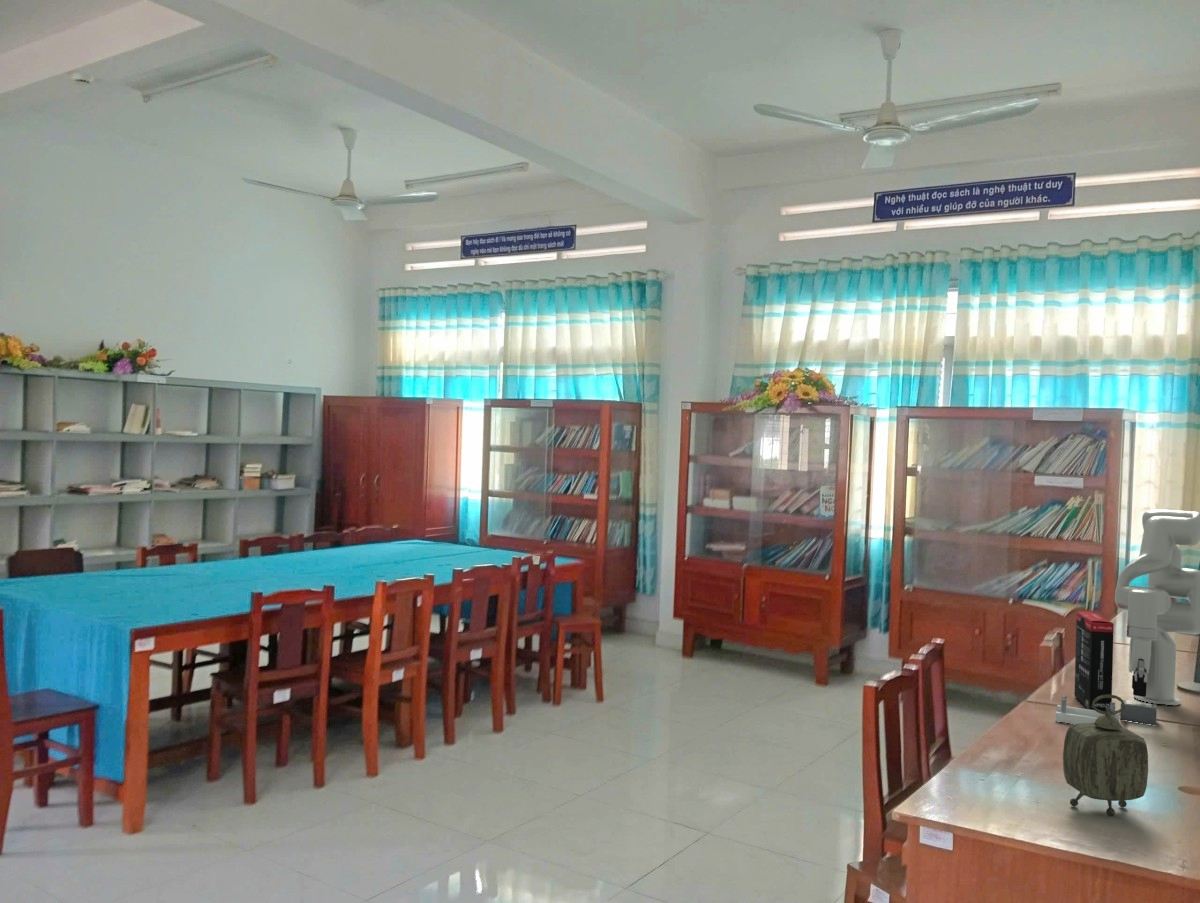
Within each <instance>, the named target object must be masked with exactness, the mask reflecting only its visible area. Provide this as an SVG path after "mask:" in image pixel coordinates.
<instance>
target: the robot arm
mask: <svg viewBox="0 0 1200 903" xmlns="http://www.w3.org/2000/svg"><path fill="white" fill-rule="evenodd" d="M1141 521H1142V528H1143V533H1142V539H1141V543H1140V549H1139V556H1138V557H1136V558H1135V559H1133V560H1132V561H1130V562H1129V563H1127V564H1126V565H1125V567H1123V568H1122V570H1121V571H1120V572H1119V575H1118V578H1117V583H1116V587H1115V592H1114V603H1115V606H1116V607H1117V608H1118V609H1119V610H1123V611H1127V616H1126V617H1127V619H1126V620H1127V622H1126V637H1127V638H1130V640H1129V653H1128V654H1129V655H1128V666H1127V667H1128V672H1129V673H1130V674H1132V673H1133V674H1132V677H1131V678H1132V679H1131V688H1132V695H1133V698H1134V697H1135V698H1136V699H1135V698H1134V699H1135V700H1137V699H1138V701H1139V700H1141V701H1140V702H1142V701H1144V702H1143V703H1146V702H1148V704H1151V703H1153V704H1154V705H1157V704H1167V705H1173V706H1178V705H1180V704H1181V700H1180V698H1178V697H1177V696H1175V693H1176V692H1175V691H1176V689H1175V688H1176V669H1177V668H1176V664H1177V646H1176V643H1175V640H1174V639H1173V638H1172V637H1171V636H1170V634H1169V633H1176V634H1177V633H1178V634H1186V635H1195V636H1197V635H1200V569H1195V568H1187V567H1182V566H1181V565H1182V554H1183V553H1182V551H1181V549H1180V548H1179V546H1180V545H1181V546H1191V547H1192V546H1197V544H1199V542H1200V512H1199V511H1192V510H1191V511H1190V510H1179V509H1178V510H1177V509H1158V508H1156V509H1155V508H1154V509H1149V510H1147V511H1145V512H1144V513H1143V514H1142V518H1141ZM1145 575H1148V576H1147V577H1148V578H1147V587H1146V586H1138V585H1130V584H1131V582H1132V581H1134V580H1135V579H1136V578H1139V577H1141V576H1145ZM1172 598H1174V599H1182V600H1183V599H1185V600H1187V601H1188V602H1185V601H1183V602H1182V601H1177V600H1176V601H1175V600H1172ZM1167 705H1166V706H1167Z"/></svg>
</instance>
